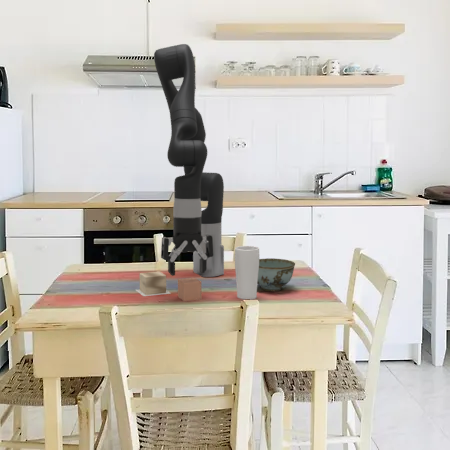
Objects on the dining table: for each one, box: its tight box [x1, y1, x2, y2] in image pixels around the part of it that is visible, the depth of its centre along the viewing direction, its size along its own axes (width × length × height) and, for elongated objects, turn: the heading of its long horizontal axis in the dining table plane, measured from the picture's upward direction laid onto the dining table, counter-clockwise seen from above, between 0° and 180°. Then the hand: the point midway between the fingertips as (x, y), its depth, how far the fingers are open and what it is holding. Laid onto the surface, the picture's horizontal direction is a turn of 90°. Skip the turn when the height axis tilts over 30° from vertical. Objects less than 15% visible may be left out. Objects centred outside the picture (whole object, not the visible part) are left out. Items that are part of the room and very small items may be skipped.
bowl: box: [257, 257, 296, 292], centre depth 199 cm, size 14×13×8 cm
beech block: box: [139, 271, 167, 295], centre depth 190 cm, size 6×6×5 cm
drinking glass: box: [234, 245, 260, 300], centre depth 184 cm, size 7×7×15 cm
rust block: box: [177, 277, 202, 302], centre depth 183 cm, size 5×5×5 cm
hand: (187, 273), depth 182 cm, fingers open, 8 cm apart
